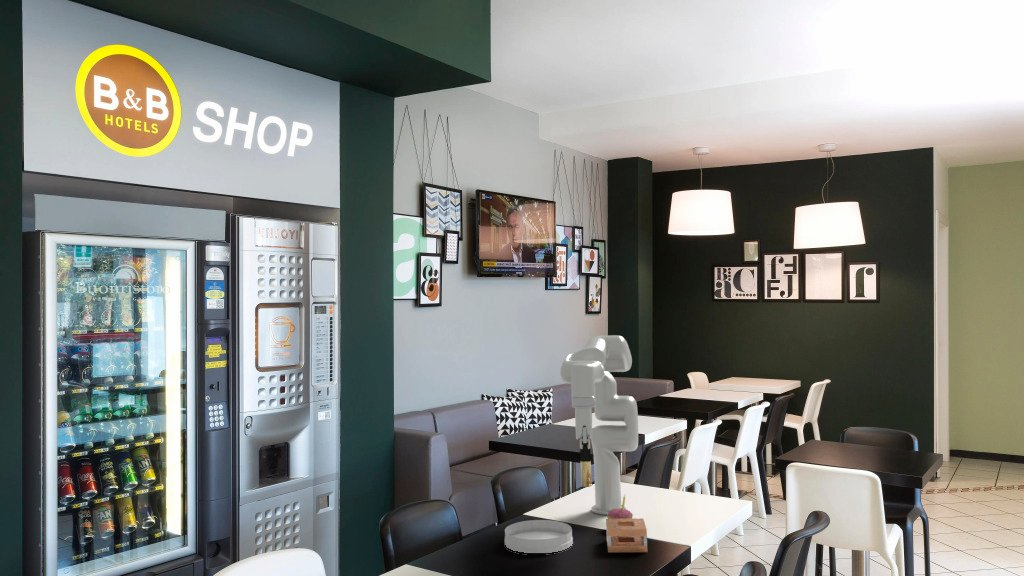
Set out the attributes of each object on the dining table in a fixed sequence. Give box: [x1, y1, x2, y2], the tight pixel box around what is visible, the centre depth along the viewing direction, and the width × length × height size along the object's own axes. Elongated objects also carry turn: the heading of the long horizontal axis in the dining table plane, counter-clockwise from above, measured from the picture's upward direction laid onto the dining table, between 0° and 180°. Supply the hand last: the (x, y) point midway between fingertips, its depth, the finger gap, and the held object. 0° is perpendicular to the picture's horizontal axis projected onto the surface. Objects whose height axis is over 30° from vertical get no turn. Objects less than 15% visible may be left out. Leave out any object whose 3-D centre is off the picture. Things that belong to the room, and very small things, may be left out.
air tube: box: [579, 427, 592, 488], centre depth 243 cm, size 3×3×18 cm
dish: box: [504, 519, 574, 553], centre depth 247 cm, size 22×22×5 cm
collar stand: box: [605, 518, 648, 553], centre depth 242 cm, size 12×12×7 cm
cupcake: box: [606, 495, 634, 519], centre depth 260 cm, size 9×8×12 cm
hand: (585, 459), depth 243 cm, fingers closed on air tube, 3 cm apart
